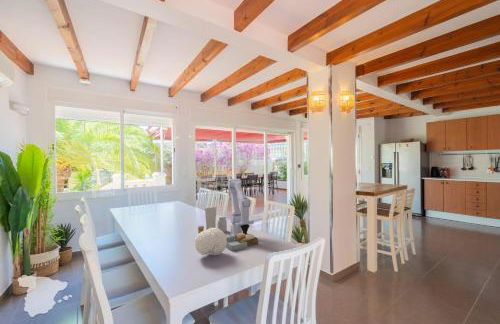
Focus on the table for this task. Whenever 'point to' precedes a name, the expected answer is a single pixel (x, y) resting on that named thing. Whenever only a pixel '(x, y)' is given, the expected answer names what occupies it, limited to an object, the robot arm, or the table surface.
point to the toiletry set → (213, 220)
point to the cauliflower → (211, 241)
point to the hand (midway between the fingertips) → (244, 234)
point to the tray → (234, 244)
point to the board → (247, 240)
